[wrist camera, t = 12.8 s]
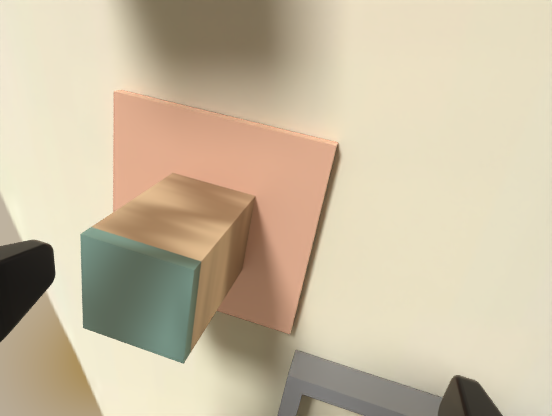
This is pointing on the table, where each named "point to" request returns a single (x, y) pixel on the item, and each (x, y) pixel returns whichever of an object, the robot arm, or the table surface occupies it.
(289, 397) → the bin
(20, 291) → the robot arm
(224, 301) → the tile
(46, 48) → the table surface
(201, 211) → the oak block
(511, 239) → the table surface
